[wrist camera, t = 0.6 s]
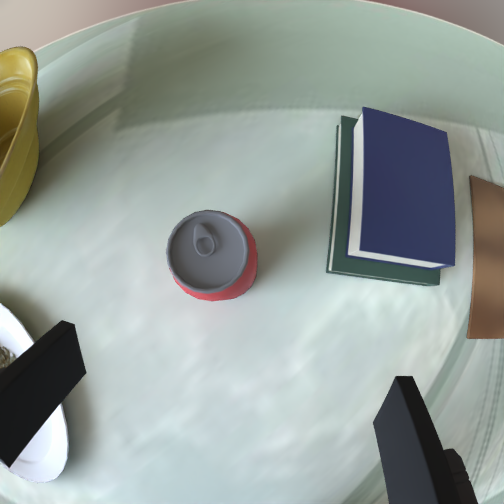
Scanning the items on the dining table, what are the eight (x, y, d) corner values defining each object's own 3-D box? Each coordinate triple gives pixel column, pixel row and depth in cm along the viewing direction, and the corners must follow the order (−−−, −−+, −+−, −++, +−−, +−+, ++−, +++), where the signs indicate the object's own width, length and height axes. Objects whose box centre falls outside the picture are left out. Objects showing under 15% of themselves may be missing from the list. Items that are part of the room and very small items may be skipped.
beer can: (245, 228, 32) (238, 188, 20) (265, 287, 31) (271, 282, 19) (186, 248, 32) (148, 221, 20) (205, 307, 31) (175, 314, 19)
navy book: (431, 270, 28) (454, 266, 24) (345, 257, 29) (360, 250, 24) (429, 148, 31) (446, 132, 26) (351, 127, 31) (363, 106, 27)
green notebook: (428, 286, 31) (439, 285, 28) (325, 272, 31) (331, 270, 29) (427, 149, 33) (435, 141, 31) (336, 126, 34) (341, 115, 31)
